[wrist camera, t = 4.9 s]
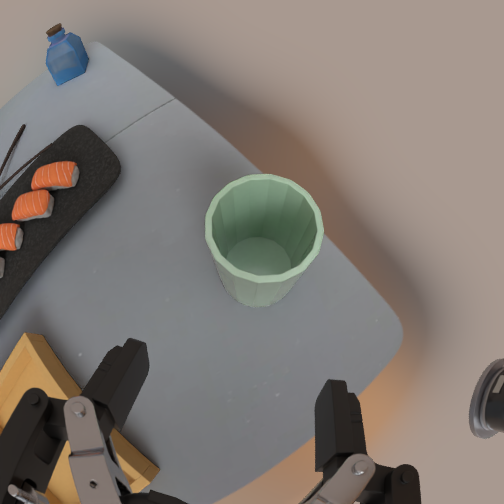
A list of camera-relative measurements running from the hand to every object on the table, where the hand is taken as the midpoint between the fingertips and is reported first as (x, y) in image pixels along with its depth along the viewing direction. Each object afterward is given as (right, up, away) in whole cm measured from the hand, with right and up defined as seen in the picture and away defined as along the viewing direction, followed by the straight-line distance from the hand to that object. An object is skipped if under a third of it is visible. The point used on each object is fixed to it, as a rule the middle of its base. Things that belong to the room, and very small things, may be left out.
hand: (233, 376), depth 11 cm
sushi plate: (-33, +13, +16) cm, 39 cm away
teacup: (+1, +4, +14) cm, 14 cm away
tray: (-20, -15, +7) cm, 26 cm away
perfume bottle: (-34, +40, +26) cm, 59 cm away
